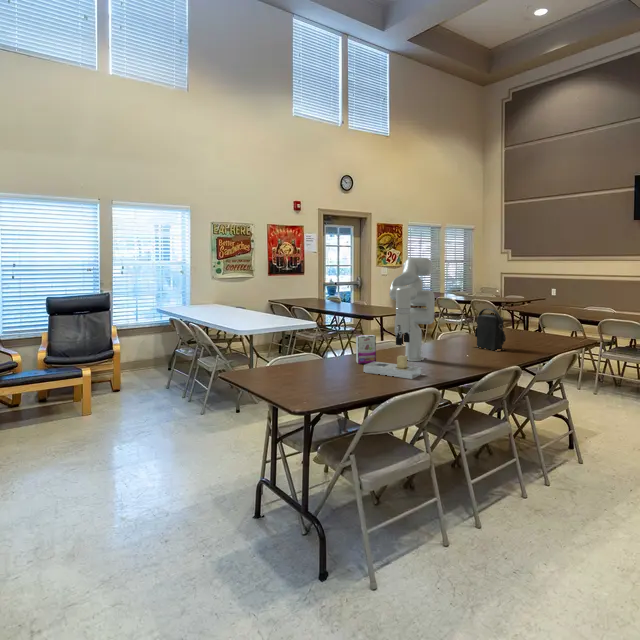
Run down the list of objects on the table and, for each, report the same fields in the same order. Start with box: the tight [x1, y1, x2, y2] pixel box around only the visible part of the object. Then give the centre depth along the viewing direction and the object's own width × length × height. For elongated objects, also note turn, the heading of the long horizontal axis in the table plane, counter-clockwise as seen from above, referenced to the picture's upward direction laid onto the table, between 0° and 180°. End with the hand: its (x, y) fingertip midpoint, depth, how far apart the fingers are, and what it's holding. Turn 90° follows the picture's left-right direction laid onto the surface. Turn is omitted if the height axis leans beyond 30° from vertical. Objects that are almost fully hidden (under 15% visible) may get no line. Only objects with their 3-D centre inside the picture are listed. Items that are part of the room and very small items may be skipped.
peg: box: [396, 354, 408, 369], centre depth 249 cm, size 4×4×10 cm
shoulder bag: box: [474, 308, 507, 351], centre depth 322 cm, size 23×9×28 cm, turn 34°
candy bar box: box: [355, 334, 377, 365], centre depth 280 cm, size 11×5×16 cm, turn 101°
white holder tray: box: [363, 361, 422, 380], centre depth 253 cm, size 12×28×4 cm, turn 56°
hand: (402, 343), depth 248 cm, fingers open, 9 cm apart
